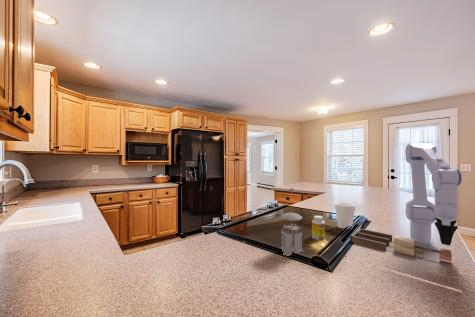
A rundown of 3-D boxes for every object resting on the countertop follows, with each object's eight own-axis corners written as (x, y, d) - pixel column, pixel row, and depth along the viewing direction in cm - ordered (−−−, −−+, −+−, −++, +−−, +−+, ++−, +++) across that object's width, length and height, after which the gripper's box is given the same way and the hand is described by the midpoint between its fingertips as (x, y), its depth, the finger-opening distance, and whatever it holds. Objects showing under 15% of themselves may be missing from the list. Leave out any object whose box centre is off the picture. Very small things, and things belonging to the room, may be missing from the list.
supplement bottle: (319, 242, 94) (319, 218, 94) (309, 238, 99) (309, 216, 99) (327, 239, 97) (327, 217, 97) (316, 235, 102) (316, 214, 102)
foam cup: (331, 227, 115) (331, 203, 115) (343, 225, 119) (343, 202, 119) (346, 233, 106) (346, 206, 106) (359, 230, 110) (359, 205, 110)
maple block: (395, 247, 87) (395, 235, 87) (451, 260, 76) (451, 246, 76) (393, 251, 84) (394, 238, 84) (451, 265, 73) (451, 250, 73)
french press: (301, 247, 88) (302, 186, 88) (308, 260, 77) (308, 190, 77) (277, 246, 89) (278, 186, 89) (280, 259, 78) (281, 190, 78)
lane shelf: (359, 234, 104) (359, 228, 104) (425, 249, 88) (425, 241, 88) (350, 243, 93) (350, 235, 93) (422, 261, 77) (422, 252, 77)
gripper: (431, 198, 84) (431, 233, 84) (429, 204, 73) (429, 244, 73) (457, 201, 79) (457, 238, 79) (459, 207, 68) (459, 250, 68)
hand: (445, 241), depth 76 cm, fingers open, 7 cm apart
